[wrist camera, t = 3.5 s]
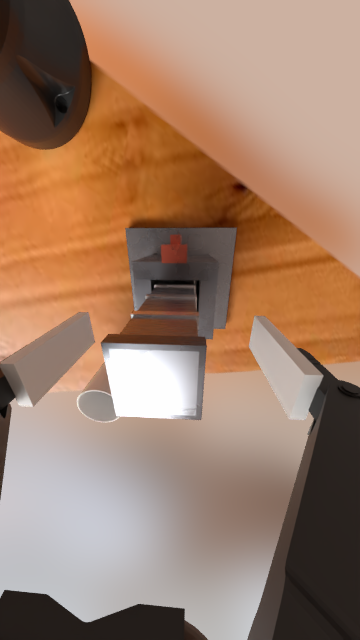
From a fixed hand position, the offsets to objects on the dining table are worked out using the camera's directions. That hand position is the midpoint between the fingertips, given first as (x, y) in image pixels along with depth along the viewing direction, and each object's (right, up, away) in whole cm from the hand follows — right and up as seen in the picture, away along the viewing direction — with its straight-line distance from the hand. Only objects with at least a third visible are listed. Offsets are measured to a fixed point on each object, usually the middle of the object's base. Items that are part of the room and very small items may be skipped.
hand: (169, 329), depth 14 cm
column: (+1, +7, +14) cm, 16 cm away
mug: (-9, -8, +23) cm, 26 cm away
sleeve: (+1, +7, +16) cm, 18 cm away
